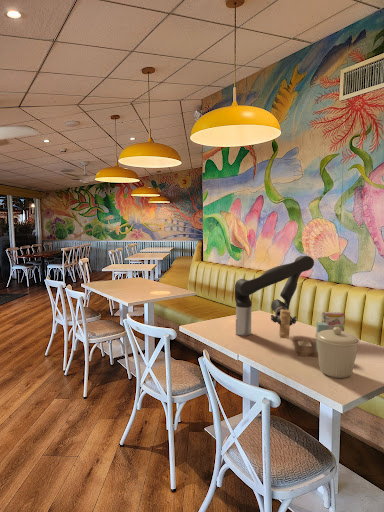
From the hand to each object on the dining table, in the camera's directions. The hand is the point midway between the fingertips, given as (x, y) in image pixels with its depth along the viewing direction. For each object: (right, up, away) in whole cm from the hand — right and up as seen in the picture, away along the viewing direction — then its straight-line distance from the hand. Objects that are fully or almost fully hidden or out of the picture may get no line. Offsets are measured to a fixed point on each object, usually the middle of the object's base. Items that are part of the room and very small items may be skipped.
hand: (285, 323), depth 169 cm
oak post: (0, -8, +3) cm, 8 cm away
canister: (+17, -18, -21) cm, 32 cm away
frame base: (+15, -15, +6) cm, 22 cm away
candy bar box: (+32, -14, +18) cm, 39 cm away
